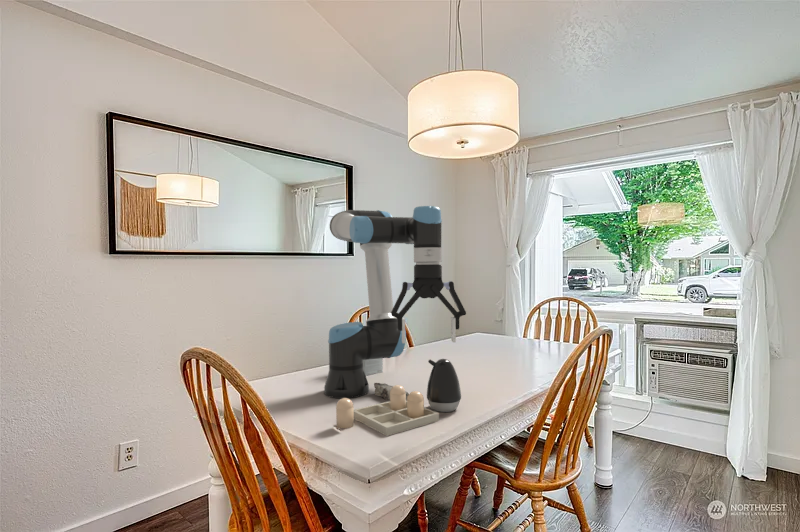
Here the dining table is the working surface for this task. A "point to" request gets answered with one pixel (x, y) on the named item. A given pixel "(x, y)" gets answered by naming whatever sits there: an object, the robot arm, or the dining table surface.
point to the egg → (344, 414)
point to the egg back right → (415, 405)
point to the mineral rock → (384, 391)
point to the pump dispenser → (443, 387)
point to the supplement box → (373, 366)
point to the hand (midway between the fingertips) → (428, 342)
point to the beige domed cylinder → (397, 398)
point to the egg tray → (392, 418)
